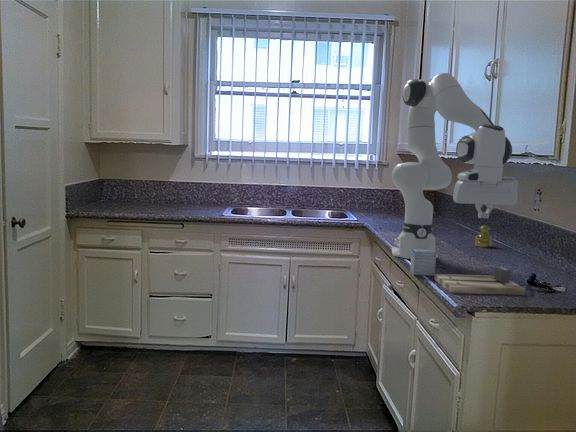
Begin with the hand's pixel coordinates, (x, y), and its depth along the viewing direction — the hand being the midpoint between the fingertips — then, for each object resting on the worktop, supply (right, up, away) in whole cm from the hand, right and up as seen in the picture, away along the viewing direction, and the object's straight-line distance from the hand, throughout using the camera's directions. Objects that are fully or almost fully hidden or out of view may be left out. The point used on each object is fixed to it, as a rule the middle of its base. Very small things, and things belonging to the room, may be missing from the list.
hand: (483, 218), depth 167 cm
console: (-1, -23, +3) cm, 23 cm away
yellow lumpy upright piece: (+29, -14, +77) cm, 83 cm away
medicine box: (-15, -21, +17) cm, 31 cm away
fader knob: (+7, -21, +3) cm, 22 cm away
